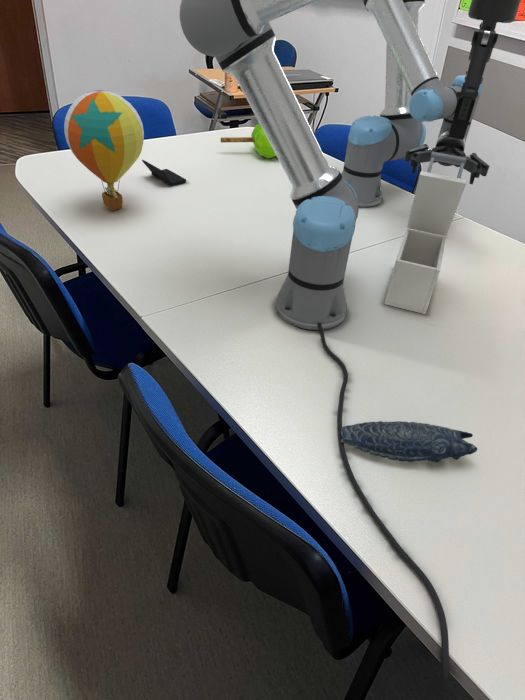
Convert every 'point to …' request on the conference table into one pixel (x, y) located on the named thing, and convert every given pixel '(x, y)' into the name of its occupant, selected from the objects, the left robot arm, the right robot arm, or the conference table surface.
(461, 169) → the lid
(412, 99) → the right robot arm
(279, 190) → the conference table surface
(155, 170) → the black angular block
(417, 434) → the fish model
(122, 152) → the toy
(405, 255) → the chest
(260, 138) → the decorative tree
